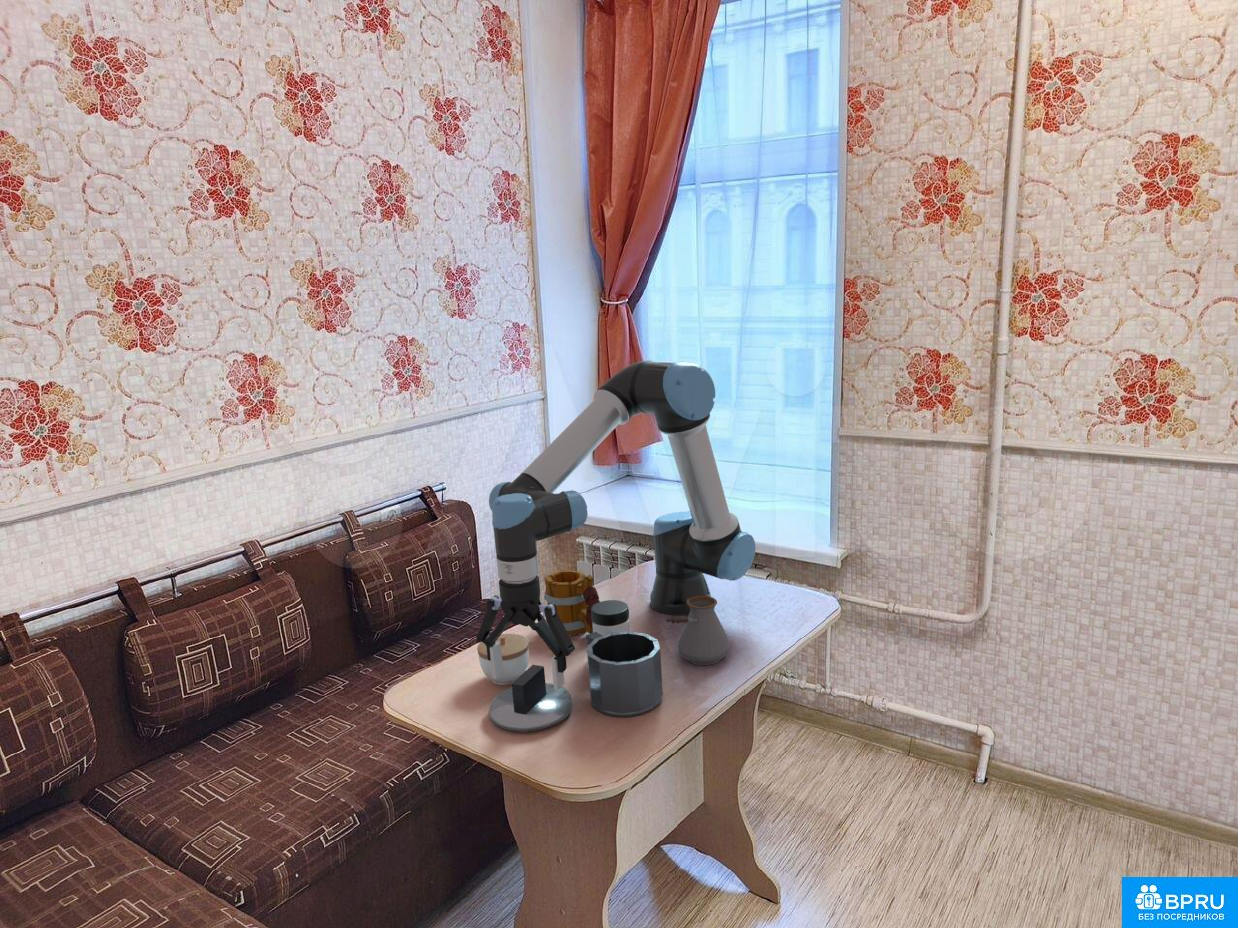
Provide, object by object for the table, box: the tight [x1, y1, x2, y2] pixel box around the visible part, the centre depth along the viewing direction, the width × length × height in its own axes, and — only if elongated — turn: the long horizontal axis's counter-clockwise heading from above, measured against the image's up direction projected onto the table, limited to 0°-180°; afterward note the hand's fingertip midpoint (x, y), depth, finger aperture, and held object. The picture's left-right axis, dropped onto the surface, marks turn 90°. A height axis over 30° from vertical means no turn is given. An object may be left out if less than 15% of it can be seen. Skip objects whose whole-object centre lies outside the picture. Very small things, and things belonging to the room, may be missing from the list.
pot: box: [585, 630, 664, 718], centre depth 164 cm, size 14×18×11 cm
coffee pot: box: [661, 596, 731, 666], centre depth 173 cm, size 21×12×15 cm, turn 147°
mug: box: [543, 569, 601, 637], centre depth 195 cm, size 11×16×15 cm, turn 46°
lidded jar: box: [477, 633, 530, 686], centre depth 174 cm, size 11×11×9 cm
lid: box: [488, 664, 573, 732], centre depth 160 cm, size 16×16×8 cm
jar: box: [591, 599, 631, 636], centre depth 179 cm, size 9×8×12 cm
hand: (528, 681), depth 159 cm, fingers open, 13 cm apart
